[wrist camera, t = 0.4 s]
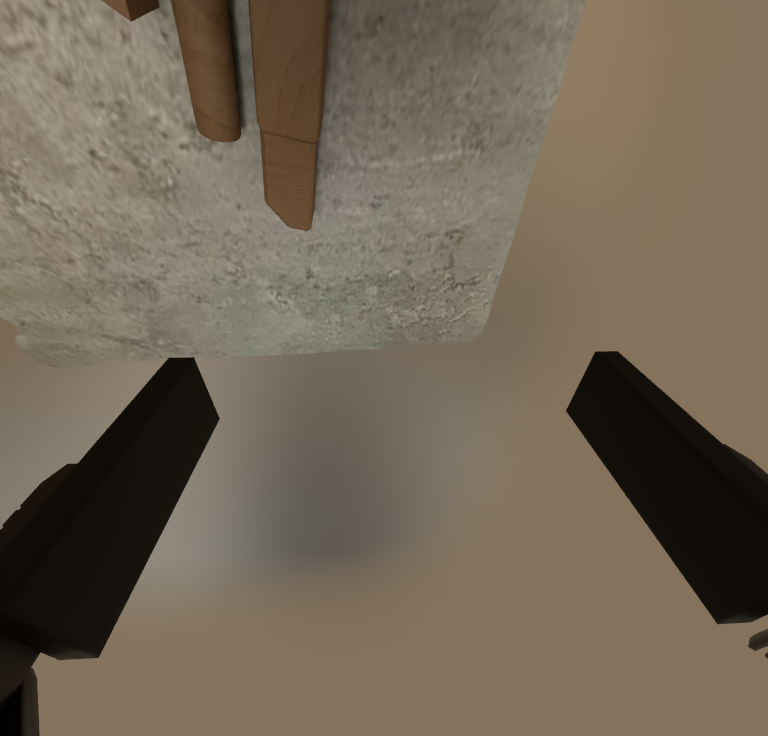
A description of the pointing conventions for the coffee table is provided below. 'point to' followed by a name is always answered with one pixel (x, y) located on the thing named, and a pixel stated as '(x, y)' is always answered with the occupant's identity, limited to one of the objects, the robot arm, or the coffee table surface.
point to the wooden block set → (259, 86)
